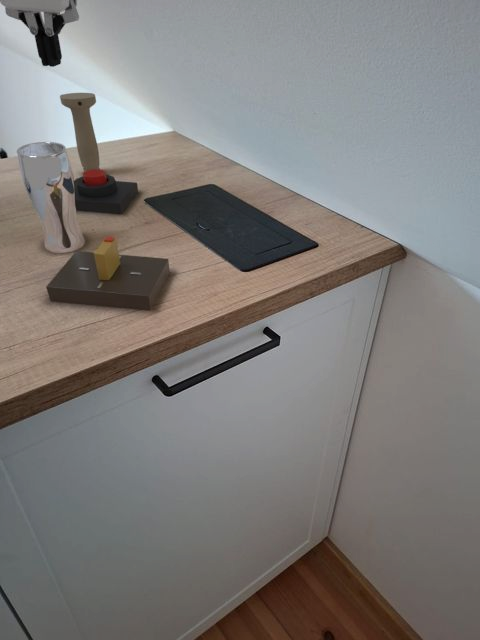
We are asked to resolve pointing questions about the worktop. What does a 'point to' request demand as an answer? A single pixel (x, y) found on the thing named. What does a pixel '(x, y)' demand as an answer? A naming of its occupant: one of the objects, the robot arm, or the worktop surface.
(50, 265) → the worktop surface
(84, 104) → the handle
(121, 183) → the alarm box
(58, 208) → the beer glass
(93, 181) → the button
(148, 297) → the plate
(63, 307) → the worktop surface
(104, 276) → the thumb turn
